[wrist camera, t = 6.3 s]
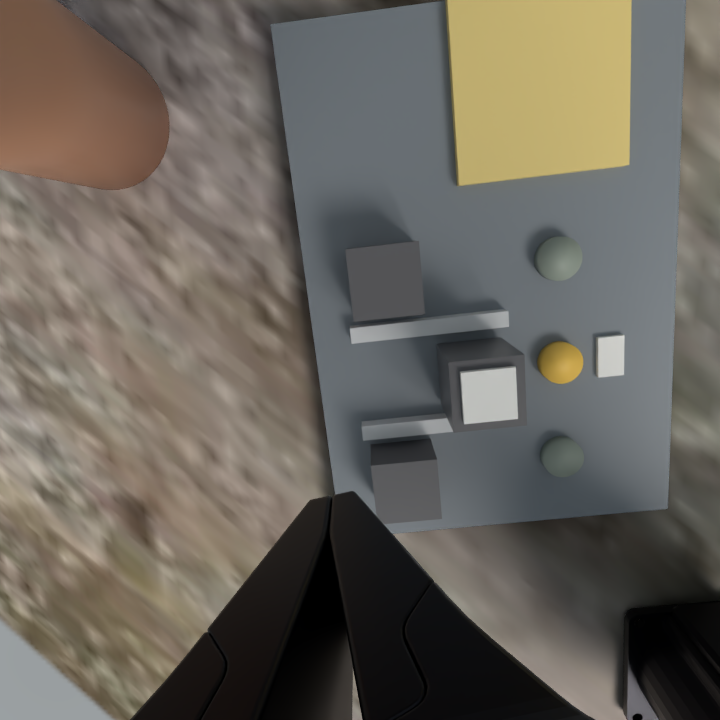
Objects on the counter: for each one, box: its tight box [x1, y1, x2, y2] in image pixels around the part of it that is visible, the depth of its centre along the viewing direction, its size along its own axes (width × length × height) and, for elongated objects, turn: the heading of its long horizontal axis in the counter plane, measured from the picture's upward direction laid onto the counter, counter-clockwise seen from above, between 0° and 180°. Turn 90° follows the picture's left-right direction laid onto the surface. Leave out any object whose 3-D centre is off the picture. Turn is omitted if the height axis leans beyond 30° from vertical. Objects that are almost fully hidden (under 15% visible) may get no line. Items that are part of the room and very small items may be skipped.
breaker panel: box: [270, 0, 686, 534], centre depth 19 cm, size 20×14×3 cm
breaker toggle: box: [436, 337, 527, 433], centre depth 18 cm, size 2×2×3 cm
